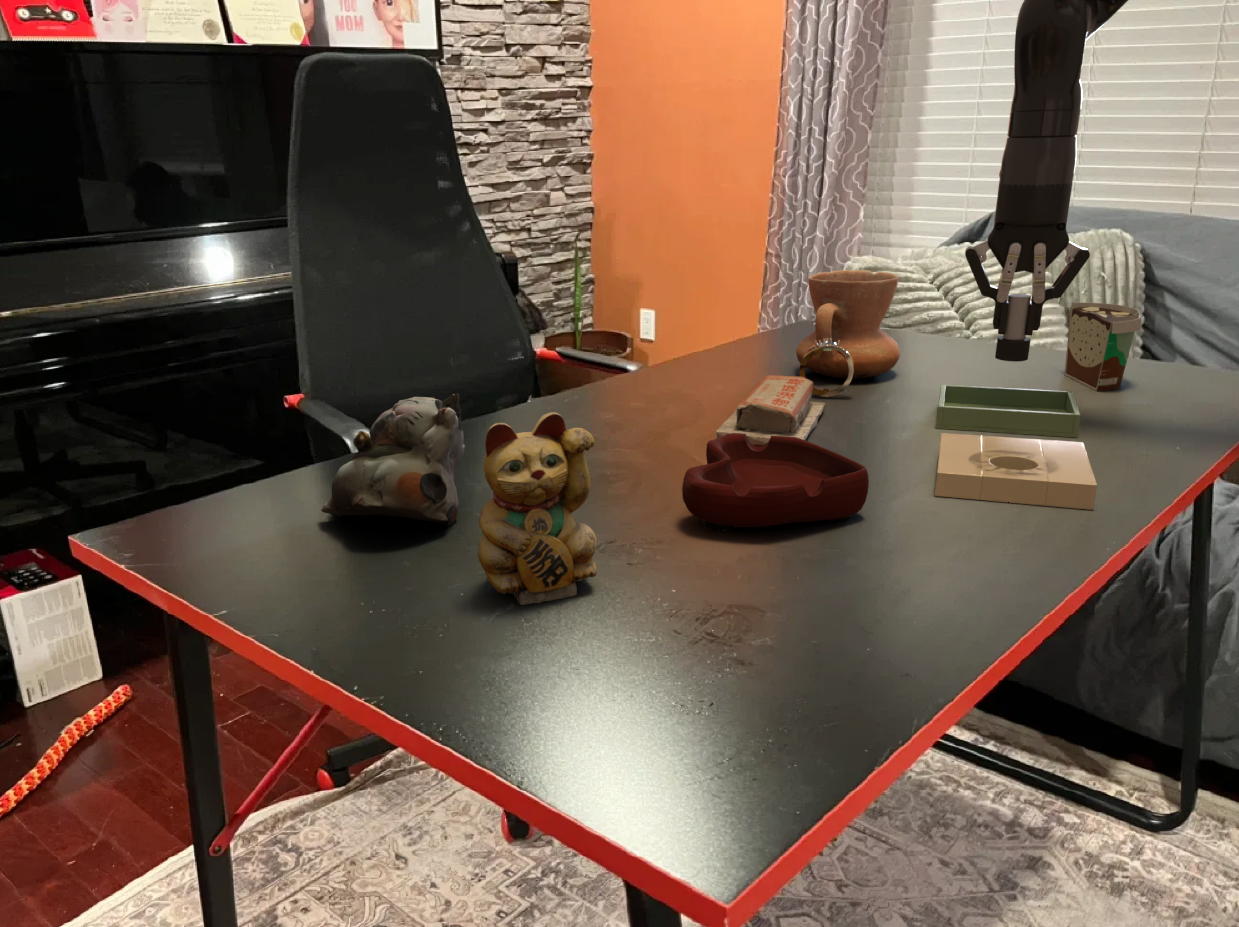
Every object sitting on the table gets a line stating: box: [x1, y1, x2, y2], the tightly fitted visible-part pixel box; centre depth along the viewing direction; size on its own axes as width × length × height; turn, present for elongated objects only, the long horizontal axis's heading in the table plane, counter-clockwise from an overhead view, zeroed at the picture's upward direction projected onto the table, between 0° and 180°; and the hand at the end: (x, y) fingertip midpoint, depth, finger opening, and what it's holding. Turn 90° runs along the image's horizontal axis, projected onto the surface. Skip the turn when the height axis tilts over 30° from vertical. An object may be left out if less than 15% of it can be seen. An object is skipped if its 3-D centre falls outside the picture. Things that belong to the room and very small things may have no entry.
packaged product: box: [715, 374, 827, 446], centre depth 123 cm, size 18×5×10 cm
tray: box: [935, 384, 1082, 438], centre depth 123 cm, size 15×11×3 cm
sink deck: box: [934, 432, 1098, 511], centre depth 103 cm, size 14×14×2 cm
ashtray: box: [681, 433, 870, 532], centre depth 97 cm, size 18×16×5 cm
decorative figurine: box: [477, 411, 598, 605], centre depth 81 cm, size 10×8×15 cm
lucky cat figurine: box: [319, 393, 466, 526], centre depth 98 cm, size 15×12×14 cm
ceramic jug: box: [795, 269, 901, 379], centre depth 145 cm, size 18×14×14 cm
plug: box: [994, 293, 1032, 363], centre depth 119 cm, size 4×4×7 cm
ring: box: [798, 337, 855, 398], centre depth 135 cm, size 7×3×8 cm, turn 66°
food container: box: [1063, 302, 1142, 392], centre depth 137 cm, size 12×6×10 cm, turn 179°
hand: (1015, 333), depth 119 cm, fingers closed on plug, 2 cm apart
